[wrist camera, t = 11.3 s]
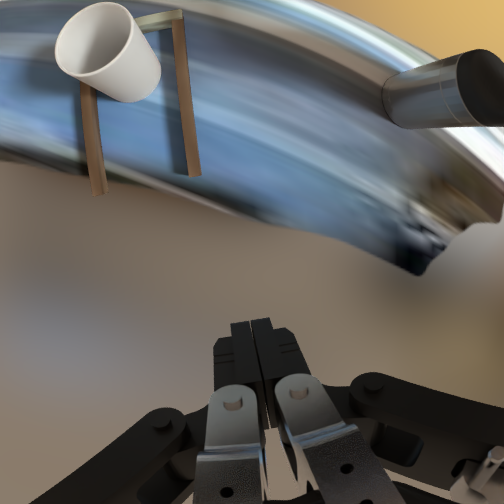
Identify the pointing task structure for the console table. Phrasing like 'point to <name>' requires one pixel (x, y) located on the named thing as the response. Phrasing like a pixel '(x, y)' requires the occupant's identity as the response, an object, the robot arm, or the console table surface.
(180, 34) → the bay
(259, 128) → the console table surface
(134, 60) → the cup
